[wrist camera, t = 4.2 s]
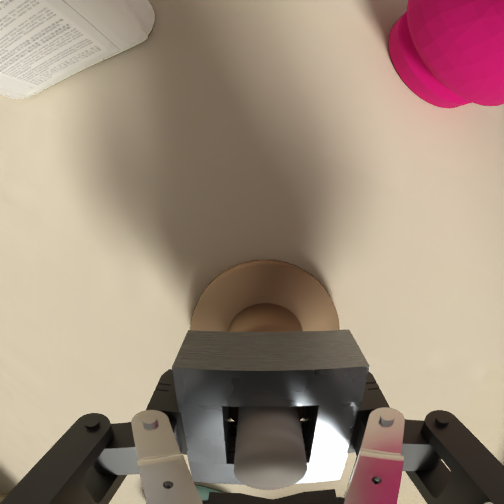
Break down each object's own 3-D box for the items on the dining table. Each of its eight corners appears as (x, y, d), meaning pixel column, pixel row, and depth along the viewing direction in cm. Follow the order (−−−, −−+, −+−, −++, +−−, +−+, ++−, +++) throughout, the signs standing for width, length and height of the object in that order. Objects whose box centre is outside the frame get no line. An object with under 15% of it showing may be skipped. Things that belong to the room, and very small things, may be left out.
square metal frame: (349, 329, 11) (369, 365, 9) (330, 439, 12) (340, 479, 10) (188, 330, 11) (171, 367, 9) (201, 440, 12) (192, 481, 10)
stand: (341, 259, 17) (430, 355, 7) (328, 384, 18) (367, 515, 9) (189, 259, 17) (111, 358, 7) (199, 384, 19) (164, 518, 9)
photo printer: (153, -11, 13) (64, -145, 1) (163, 42, 14) (46, -101, 2) (18, 57, 14) (-113, 14, 2) (20, 109, 15) (-133, 89, 3)
